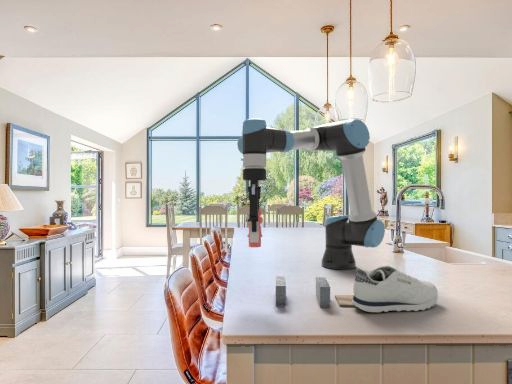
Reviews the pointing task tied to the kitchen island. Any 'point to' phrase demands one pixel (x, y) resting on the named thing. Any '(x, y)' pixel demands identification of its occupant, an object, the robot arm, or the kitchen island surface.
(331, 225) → the robot arm
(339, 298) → the pad
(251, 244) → the figurine
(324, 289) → the grey blocks
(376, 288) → the running shoe
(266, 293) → the kitchen island surface
